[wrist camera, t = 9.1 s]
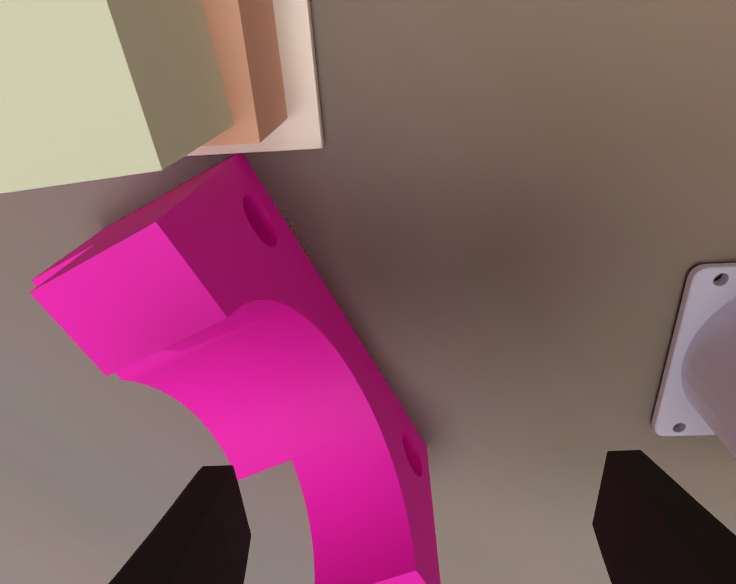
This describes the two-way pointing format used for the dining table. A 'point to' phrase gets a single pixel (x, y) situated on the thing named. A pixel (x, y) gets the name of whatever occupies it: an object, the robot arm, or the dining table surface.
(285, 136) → the baseplate
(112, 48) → the sage brick
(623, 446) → the dining table surface
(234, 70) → the terracotta brick
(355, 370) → the toy block
